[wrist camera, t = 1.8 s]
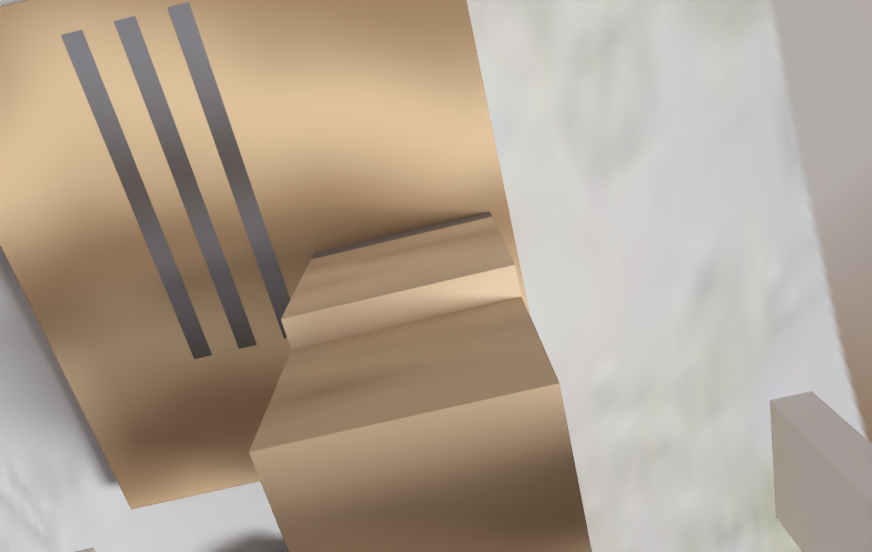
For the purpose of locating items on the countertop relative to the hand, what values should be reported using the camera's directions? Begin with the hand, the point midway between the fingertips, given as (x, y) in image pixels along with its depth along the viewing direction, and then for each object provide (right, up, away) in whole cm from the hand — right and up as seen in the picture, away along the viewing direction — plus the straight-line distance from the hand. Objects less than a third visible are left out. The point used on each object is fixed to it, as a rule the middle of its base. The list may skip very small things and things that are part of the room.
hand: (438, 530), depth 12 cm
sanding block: (0, +3, +8) cm, 9 cm away
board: (-5, +6, +8) cm, 12 cm away
